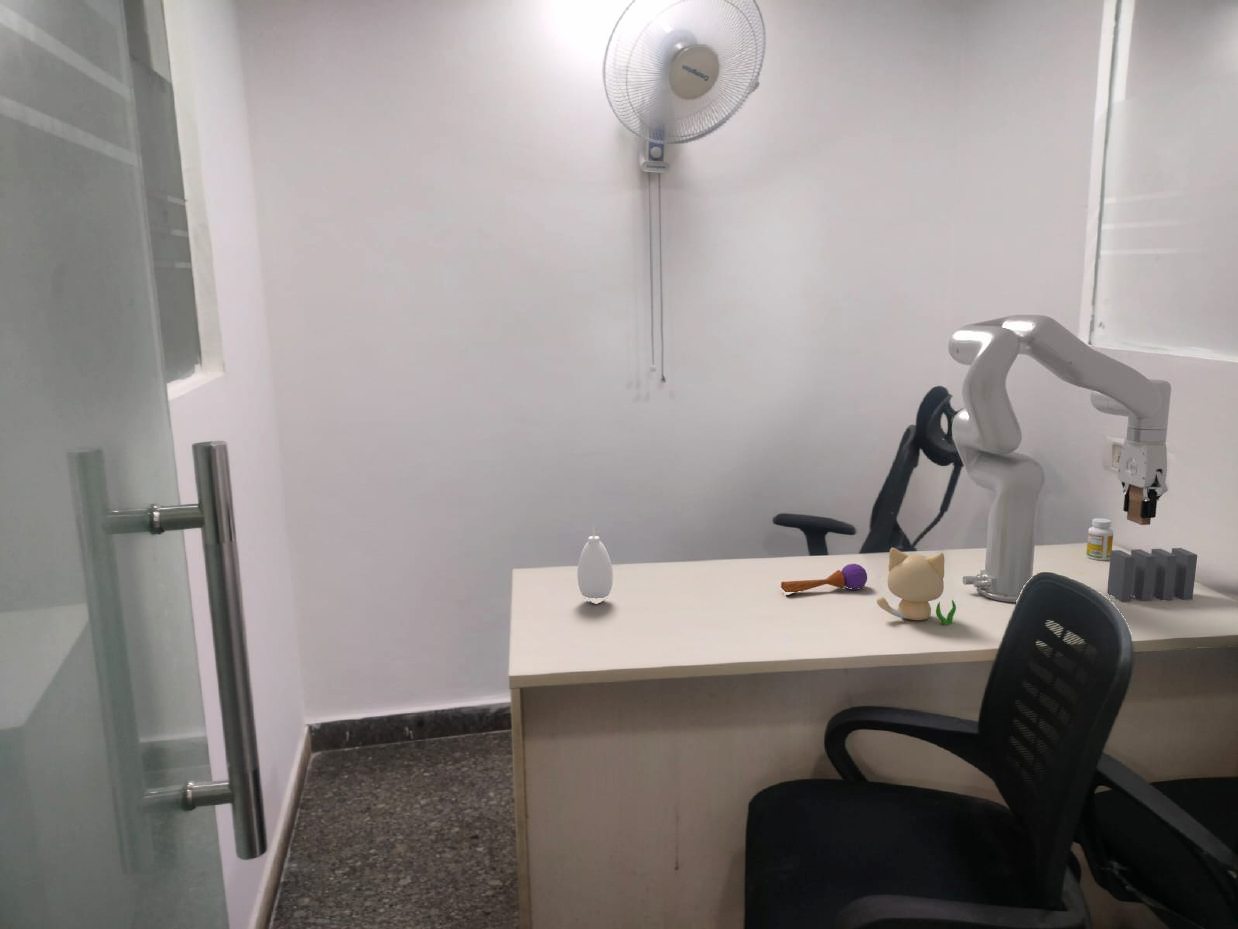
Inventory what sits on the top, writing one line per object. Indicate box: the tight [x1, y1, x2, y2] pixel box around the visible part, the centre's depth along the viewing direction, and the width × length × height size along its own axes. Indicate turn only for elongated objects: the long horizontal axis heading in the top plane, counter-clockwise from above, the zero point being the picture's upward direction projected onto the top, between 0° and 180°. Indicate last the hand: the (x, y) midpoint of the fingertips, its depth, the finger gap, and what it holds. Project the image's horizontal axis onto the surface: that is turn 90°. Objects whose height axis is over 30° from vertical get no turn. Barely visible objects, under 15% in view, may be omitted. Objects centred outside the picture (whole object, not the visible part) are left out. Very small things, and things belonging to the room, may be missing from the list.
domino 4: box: [1150, 548, 1176, 601], centre depth 177 cm, size 2×5×10 cm, turn 1°
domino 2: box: [1126, 484, 1154, 526], centre depth 185 cm, size 2×5×10 cm, turn 3°
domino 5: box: [1171, 547, 1198, 601], centre depth 177 cm, size 2×5×10 cm, turn 1°
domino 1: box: [1106, 549, 1135, 603], centre depth 177 cm, size 2×5×10 cm, turn 1°
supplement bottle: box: [1086, 517, 1114, 562], centre depth 204 cm, size 5×5×10 cm
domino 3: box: [1130, 549, 1156, 602], centre depth 177 cm, size 2×5×10 cm, turn 1°
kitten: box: [876, 547, 957, 626], centre depth 169 cm, size 15×10×15 cm
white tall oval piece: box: [577, 525, 614, 599], centre depth 182 cm, size 8×8×18 cm
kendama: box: [780, 563, 868, 593], centre depth 187 cm, size 6×6×20 cm
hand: (1139, 513), depth 186 cm, fingers closed on domino 2, 4 cm apart
